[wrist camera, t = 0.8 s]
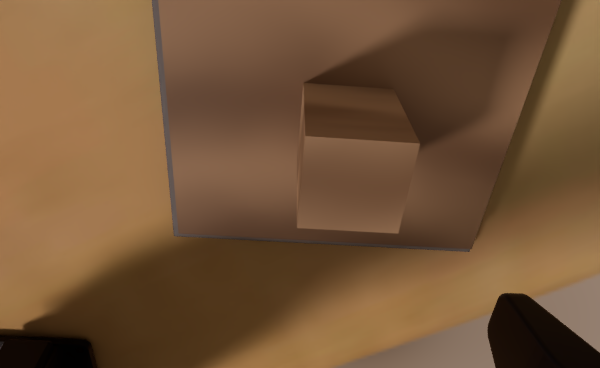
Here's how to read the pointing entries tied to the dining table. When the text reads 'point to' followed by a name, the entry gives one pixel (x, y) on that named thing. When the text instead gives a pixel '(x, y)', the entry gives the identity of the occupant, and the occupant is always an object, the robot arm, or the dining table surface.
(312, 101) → the lid
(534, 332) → the robot arm
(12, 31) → the dining table surface
